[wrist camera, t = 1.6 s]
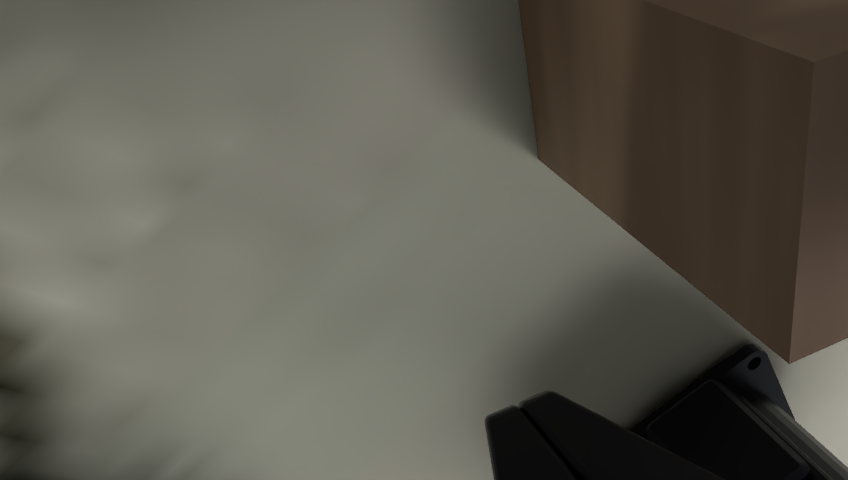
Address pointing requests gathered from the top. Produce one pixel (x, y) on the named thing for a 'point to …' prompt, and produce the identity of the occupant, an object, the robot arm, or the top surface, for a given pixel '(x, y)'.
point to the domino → (710, 144)
